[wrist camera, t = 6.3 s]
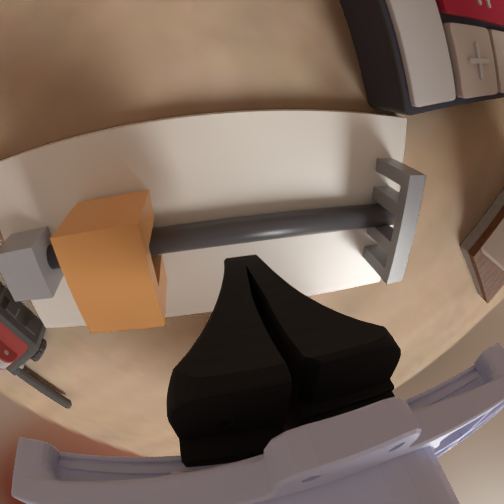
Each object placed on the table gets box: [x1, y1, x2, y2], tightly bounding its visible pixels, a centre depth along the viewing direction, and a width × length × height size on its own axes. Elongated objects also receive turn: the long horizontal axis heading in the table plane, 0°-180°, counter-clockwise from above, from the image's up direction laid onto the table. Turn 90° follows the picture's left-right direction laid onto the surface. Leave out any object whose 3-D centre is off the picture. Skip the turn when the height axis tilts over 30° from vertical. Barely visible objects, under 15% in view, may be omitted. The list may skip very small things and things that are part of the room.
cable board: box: [0, 109, 426, 328], centre depth 15 cm, size 12×25×4 cm, turn 91°
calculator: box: [340, 0, 504, 115], centre depth 11 cm, size 11×4×15 cm
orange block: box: [50, 190, 167, 333], centre depth 13 cm, size 5×4×4 cm
